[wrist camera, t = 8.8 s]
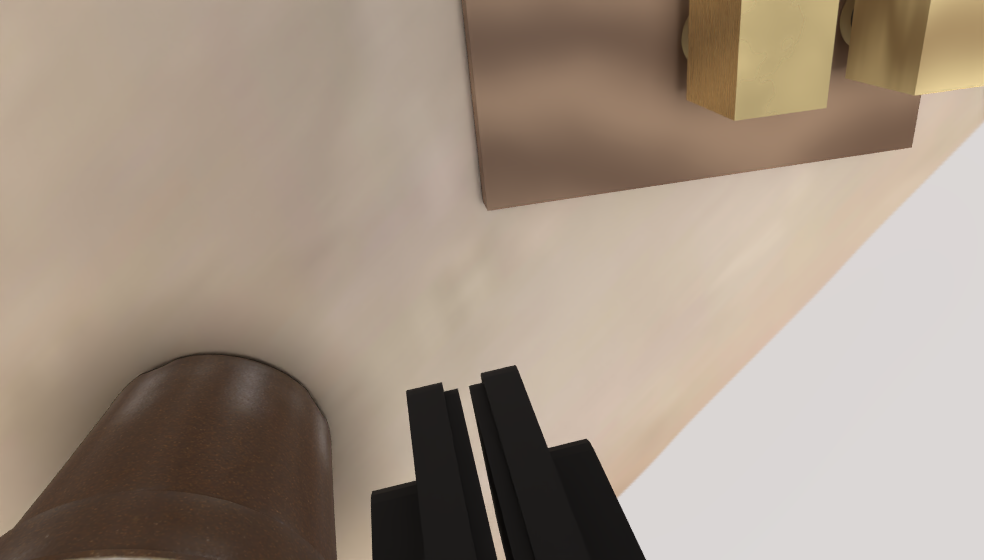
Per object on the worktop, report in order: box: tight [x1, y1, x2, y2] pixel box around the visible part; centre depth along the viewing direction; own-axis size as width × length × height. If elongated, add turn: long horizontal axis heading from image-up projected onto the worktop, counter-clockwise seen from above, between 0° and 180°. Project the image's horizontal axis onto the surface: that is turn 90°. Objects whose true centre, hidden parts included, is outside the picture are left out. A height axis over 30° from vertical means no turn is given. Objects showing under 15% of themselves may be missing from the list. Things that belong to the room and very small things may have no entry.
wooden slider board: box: [462, 0, 984, 211], centre depth 30 cm, size 14×23×8 cm, turn 95°
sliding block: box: [686, 0, 839, 121], centre depth 29 cm, size 5×4×6 cm
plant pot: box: [0, 355, 337, 560], centre depth 32 cm, size 16×16×16 cm
